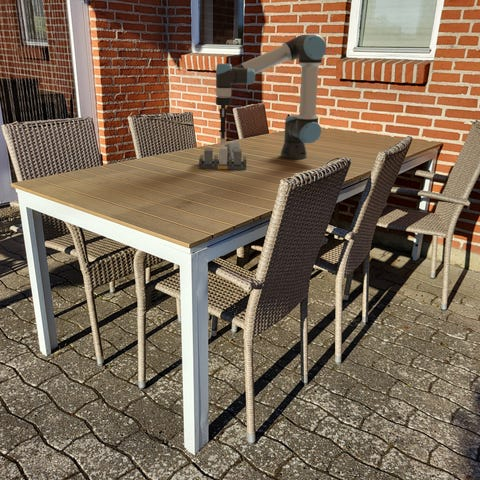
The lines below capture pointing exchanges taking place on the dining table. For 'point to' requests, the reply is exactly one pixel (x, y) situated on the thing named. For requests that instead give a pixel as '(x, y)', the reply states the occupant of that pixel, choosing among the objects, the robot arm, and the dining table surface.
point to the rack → (208, 162)
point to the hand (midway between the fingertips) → (222, 144)
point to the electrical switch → (232, 148)
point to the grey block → (223, 156)
